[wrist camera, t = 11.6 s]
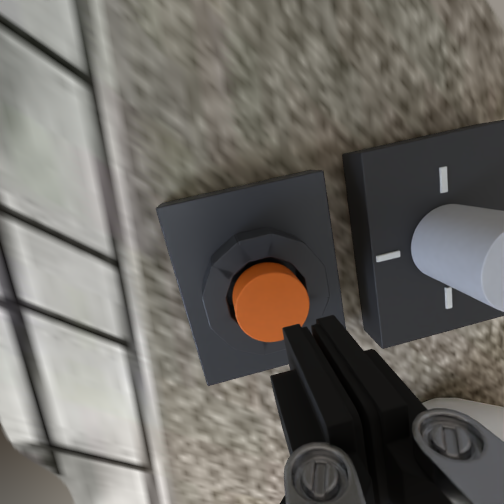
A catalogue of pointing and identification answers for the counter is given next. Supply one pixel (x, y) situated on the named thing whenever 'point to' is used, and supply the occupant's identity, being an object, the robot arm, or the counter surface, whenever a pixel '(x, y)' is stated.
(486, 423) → the cup
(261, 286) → the button
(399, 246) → the timer panel
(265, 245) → the block
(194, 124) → the counter surface
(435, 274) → the timer knob
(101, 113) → the counter surface
